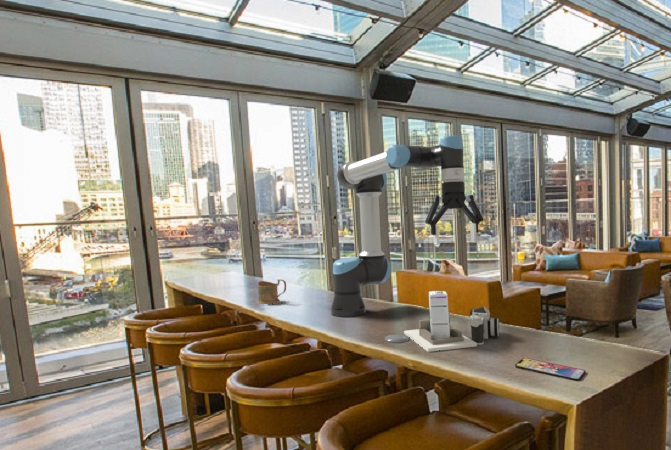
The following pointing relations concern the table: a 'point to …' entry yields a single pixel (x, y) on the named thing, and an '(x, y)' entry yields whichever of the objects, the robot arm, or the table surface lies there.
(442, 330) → the syrup box
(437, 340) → the bracket board
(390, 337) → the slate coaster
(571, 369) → the smartphone
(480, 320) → the camera
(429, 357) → the table surface
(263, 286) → the mug
